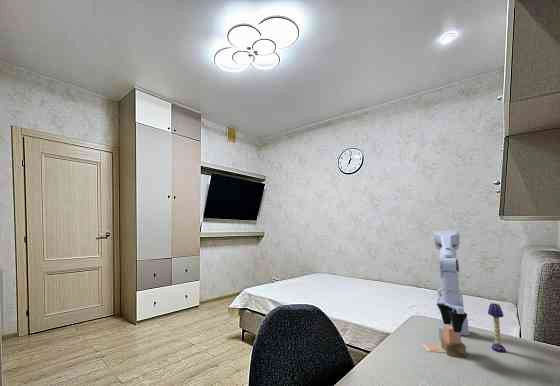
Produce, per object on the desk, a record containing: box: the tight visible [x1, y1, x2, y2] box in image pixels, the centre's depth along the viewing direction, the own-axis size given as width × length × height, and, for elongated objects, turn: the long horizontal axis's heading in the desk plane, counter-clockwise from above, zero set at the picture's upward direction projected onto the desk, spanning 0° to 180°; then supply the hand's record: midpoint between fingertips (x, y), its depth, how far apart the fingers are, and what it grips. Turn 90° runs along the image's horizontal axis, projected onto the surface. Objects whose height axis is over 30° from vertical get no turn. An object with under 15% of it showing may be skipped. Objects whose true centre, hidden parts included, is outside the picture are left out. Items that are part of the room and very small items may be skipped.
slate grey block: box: [438, 327, 444, 342], centre depth 107 cm, size 4×4×5 cm
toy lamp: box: [487, 303, 507, 353], centre depth 101 cm, size 5×5×17 cm
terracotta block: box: [443, 325, 462, 344], centre depth 99 cm, size 4×4×5 cm
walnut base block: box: [440, 337, 467, 358], centre depth 98 cm, size 6×6×4 cm
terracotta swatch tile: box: [422, 343, 446, 354], centre depth 101 cm, size 6×6×1 cm
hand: (452, 327), depth 99 cm, fingers open, 7 cm apart
